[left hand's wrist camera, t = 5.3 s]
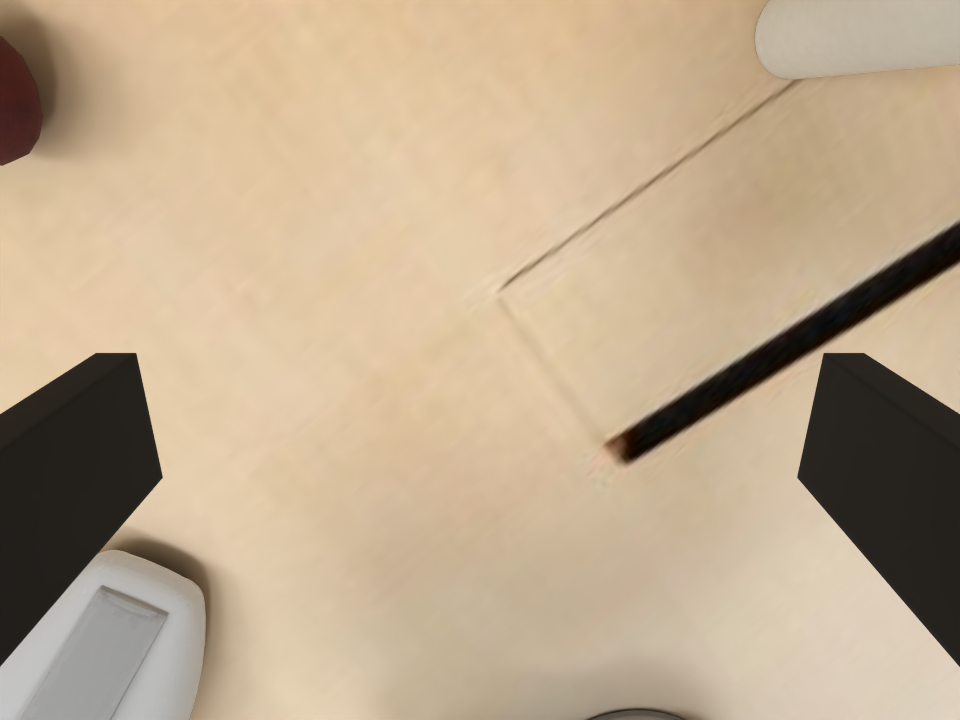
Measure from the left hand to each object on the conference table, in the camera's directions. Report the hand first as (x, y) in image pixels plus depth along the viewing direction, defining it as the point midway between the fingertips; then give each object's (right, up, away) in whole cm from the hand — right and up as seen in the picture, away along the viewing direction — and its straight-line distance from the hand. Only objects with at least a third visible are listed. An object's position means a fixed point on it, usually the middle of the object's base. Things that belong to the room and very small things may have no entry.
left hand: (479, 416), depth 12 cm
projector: (-30, -22, +39) cm, 54 cm away
